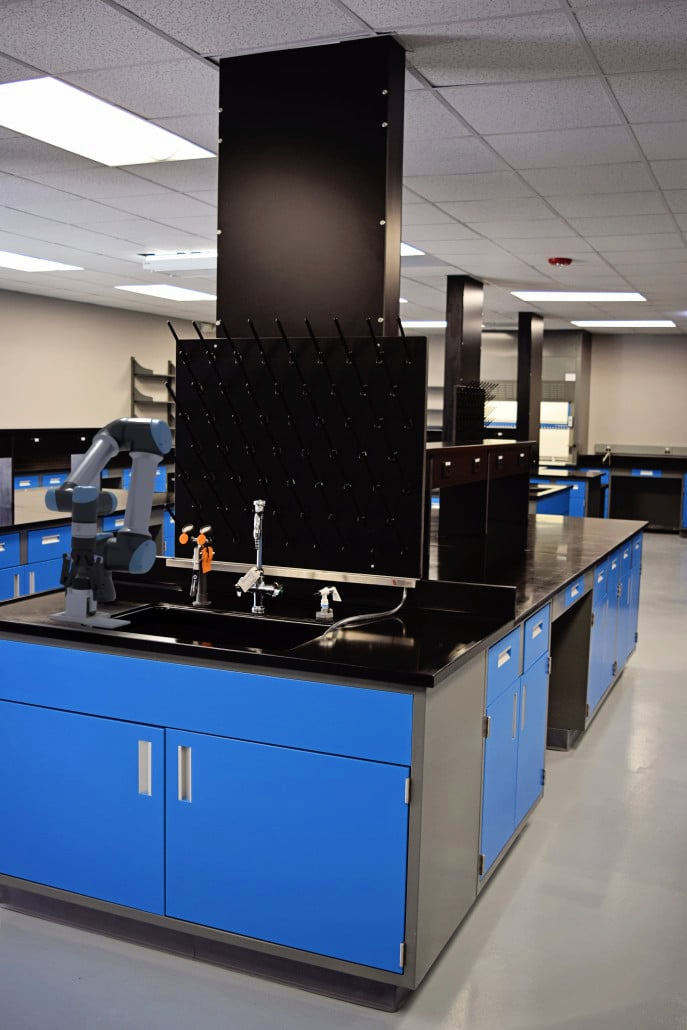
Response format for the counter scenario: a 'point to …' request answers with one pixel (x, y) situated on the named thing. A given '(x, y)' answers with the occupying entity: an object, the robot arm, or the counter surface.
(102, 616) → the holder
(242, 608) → the counter surface
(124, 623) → the pad
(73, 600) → the medicine bottle
